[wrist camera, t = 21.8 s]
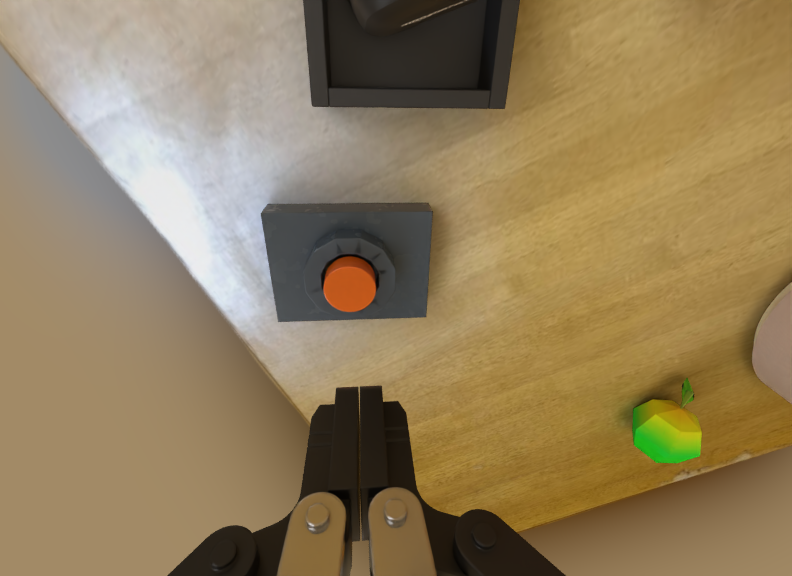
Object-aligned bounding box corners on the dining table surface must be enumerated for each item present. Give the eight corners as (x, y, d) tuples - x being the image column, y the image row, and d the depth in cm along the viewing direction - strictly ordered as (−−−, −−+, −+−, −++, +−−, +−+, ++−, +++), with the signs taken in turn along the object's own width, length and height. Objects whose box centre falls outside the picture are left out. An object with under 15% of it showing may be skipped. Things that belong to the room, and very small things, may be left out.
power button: (327, 300, 28) (325, 313, 27) (323, 256, 27) (321, 267, 25) (375, 299, 29) (376, 311, 27) (375, 255, 27) (375, 265, 25)
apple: (683, 492, 38) (733, 429, 33) (614, 454, 41) (651, 392, 36) (685, 446, 43) (728, 386, 38) (624, 416, 46) (658, 358, 41)
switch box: (283, 307, 32) (273, 335, 29) (267, 203, 28) (254, 221, 25) (422, 303, 33) (429, 330, 30) (428, 202, 29) (437, 219, 26)
